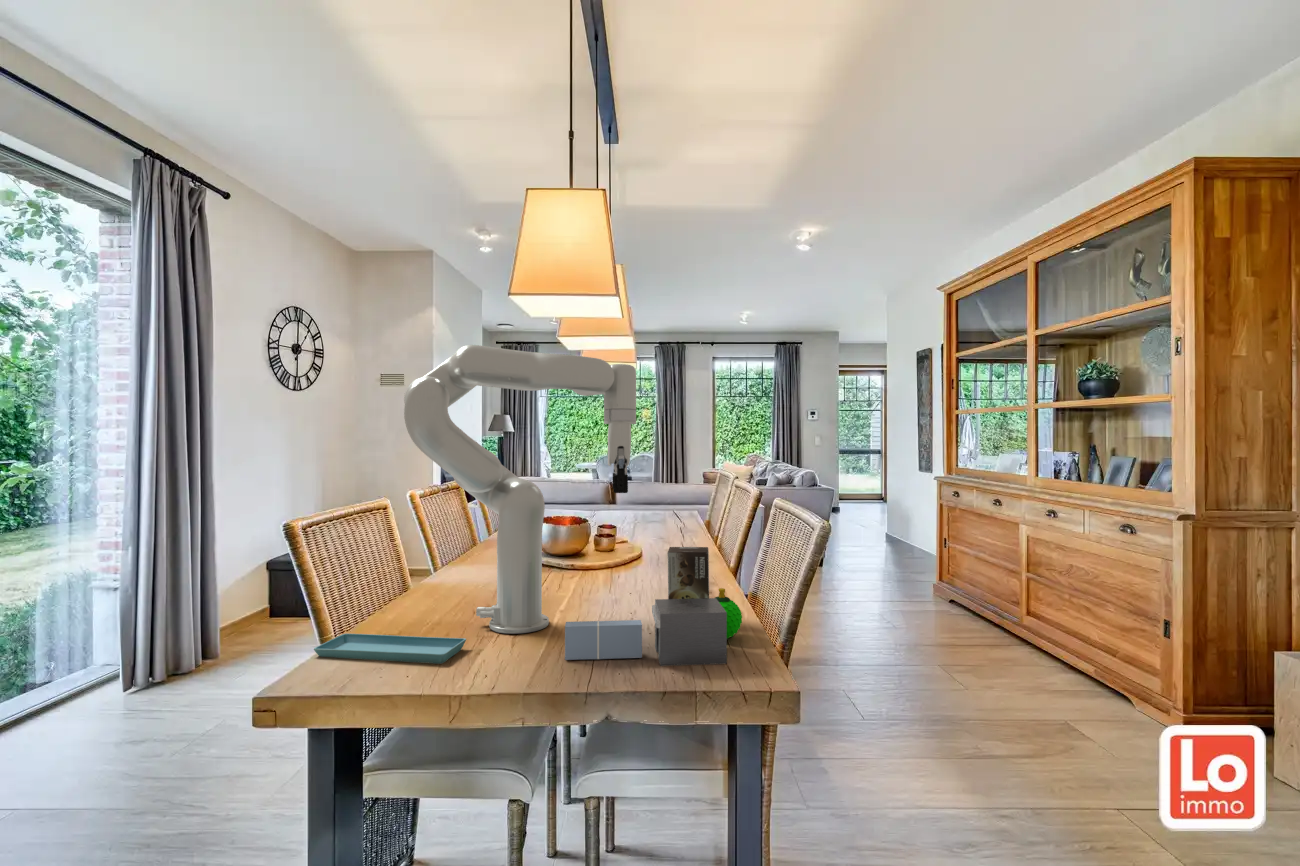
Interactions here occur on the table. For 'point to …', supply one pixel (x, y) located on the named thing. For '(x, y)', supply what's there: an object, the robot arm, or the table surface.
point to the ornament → (730, 613)
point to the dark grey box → (690, 631)
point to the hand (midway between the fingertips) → (620, 491)
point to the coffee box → (688, 572)
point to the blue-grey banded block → (603, 639)
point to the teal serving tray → (391, 648)
